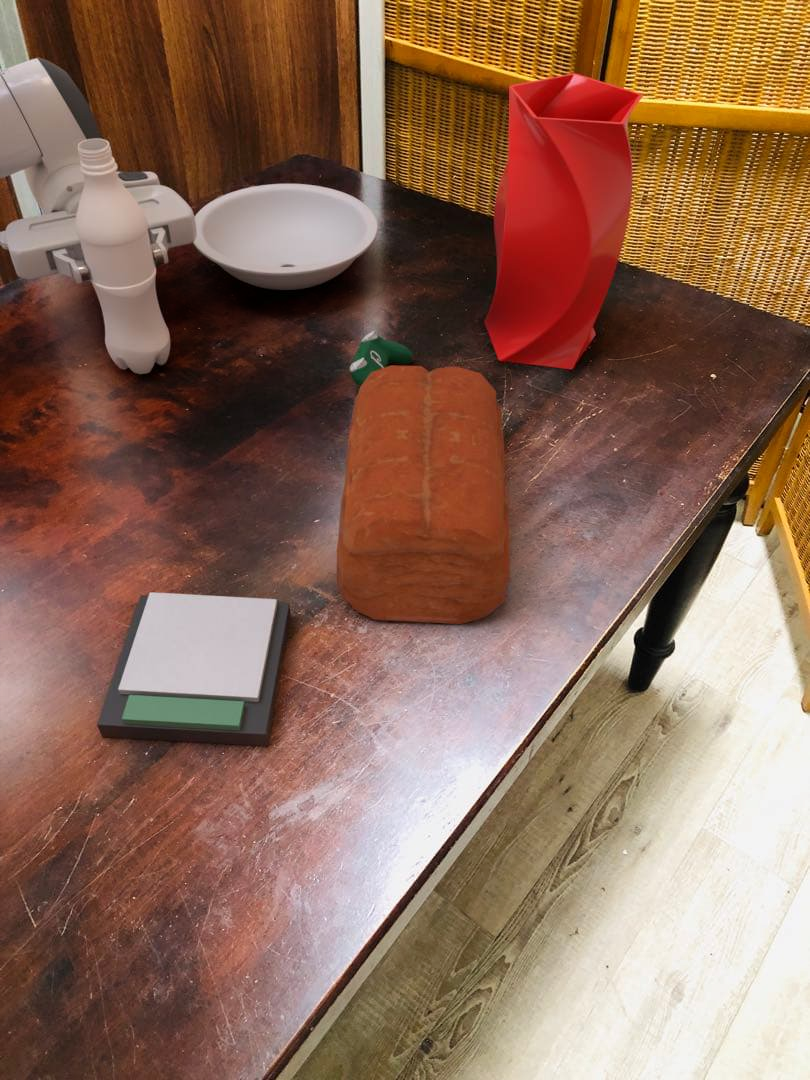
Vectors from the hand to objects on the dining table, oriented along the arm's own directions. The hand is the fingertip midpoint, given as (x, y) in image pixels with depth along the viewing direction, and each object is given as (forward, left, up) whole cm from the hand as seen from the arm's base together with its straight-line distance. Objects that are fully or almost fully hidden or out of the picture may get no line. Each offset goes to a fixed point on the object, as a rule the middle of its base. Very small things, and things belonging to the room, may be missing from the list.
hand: (123, 267), depth 93 cm
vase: (+47, +11, -13) cm, 49 cm away
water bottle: (0, +1, -13) cm, 13 cm away
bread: (+33, -23, -13) cm, 42 cm away
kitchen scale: (+16, -42, -12) cm, 47 cm away
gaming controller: (+28, 0, -13) cm, 30 cm away
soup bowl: (+14, +23, -13) cm, 29 cm away
